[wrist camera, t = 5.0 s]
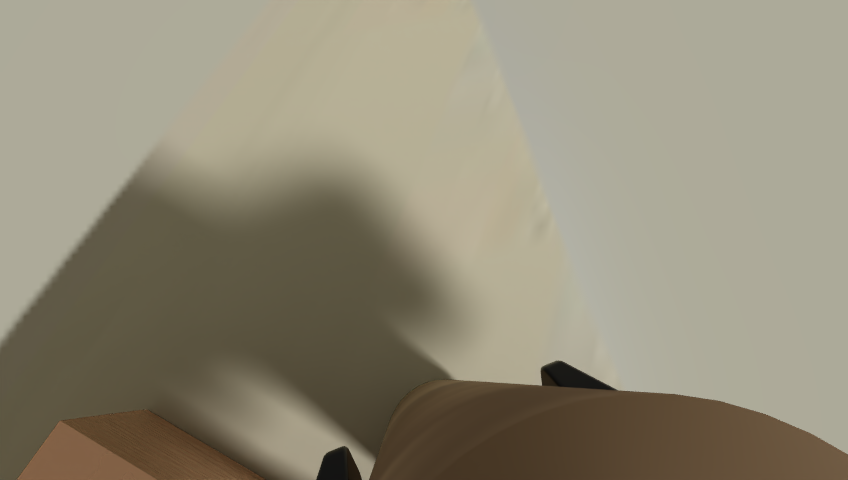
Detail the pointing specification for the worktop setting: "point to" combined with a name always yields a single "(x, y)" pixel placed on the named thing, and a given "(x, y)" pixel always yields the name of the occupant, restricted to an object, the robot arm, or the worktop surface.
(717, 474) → the pin
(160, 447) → the hollow square frame
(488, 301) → the worktop surface
